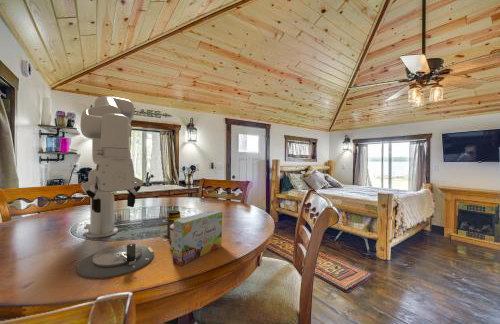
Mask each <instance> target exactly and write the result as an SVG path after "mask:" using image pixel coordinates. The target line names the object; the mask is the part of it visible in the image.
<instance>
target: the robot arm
mask: <svg viewBox="0 0 500 324" xmlns="http://www.w3.org/2000/svg"><path fill="white" fill-rule="evenodd" d="M134 116H135V105H134V104H133V102H132V101H131V100H130V99H127V98H121V97H115V96H109V95H101V96H98V97H97V98H96V99H95V100H94V103H93V106H91V107H88V108H85V109H84V110H83V111H82V113H81V116H80V123H79V124H80V125H79V126H80V127H79V128H80V132H81V134H82V136H84V137H85V138H87V139H90V140H92V141H91V143H92V144H91V146H92V147H91V151H92V154H91V156H92V162H93V163H94V164H95V165H96V166H95V168H94V169H91V170H90V171H89V172H88V175H87V177H88V181H86V182H84V183H82V184H80V188H81V189H82V191H83V192H84V194H85V195H86V196H88V197H89V199H90V210H89V211H90V214H89V215H90V222H89V223H87V224H85V226H84V227H83V229H84V230H87V232H86V233H85V236H86V238H91V239H95V238H96V239H97V238H99V239H100V238H104V237H109V236H113V235H115V234H117V233H118V231H119V230H118V228H117V227H115V195H114V193H113V192H123V191H127V197H126V198H127V203H126V205H127V207H129V208H134V207H135V203H136V195H137V194H138V192H139V191H140V189H141V187H142V185H143V184H144V180H142V179H140V178H138V177H136V176H135V175H136V174H135V168H134V163H133V159H132V155H131V151H130V137H131V135H132V130H133V129H132V125H131V123H132V120H133V118H134Z"/></svg>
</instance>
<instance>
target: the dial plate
mask: <svg viewBox="0 0 500 324" xmlns="http://www.w3.org/2000/svg"><path fill="white" fill-rule="evenodd" d="M136 245H137V246H140V247H141V248H142V255H141V256H140V257H139V258H138V259H137V260H136V263H134V264H132V265H127V264H125V265H121V266H116V267H107V268H103V267H97V266H94V265H93V256H94V255H95V254H96V253H98V252H99V251H97V252H94V253H93V254H90V255H88V256H86V257H85V258H83V259H82V260H81V261H80V262H79V263H78V265H77V267H76V270H77V274H78V275H80V276H81V277H84V278H87V279H106V278H107V279H108V278H113V277H114V278H115V277H119V276H122V275H126V274H130V273H133V272H135V271H138V270H140V269H142V268H143V267H145V266H147V265H148V264H150V262H152V260H153V259H154V255H155V252H154V250H153V249H152V247H150V246H145V245H139V244H136Z"/></svg>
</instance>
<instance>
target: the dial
mask: <svg viewBox="0 0 500 324" xmlns="http://www.w3.org/2000/svg"><path fill="white" fill-rule="evenodd" d="M137 245H138V244H136V243H128V244H122V245H115V246H111V247H108V248H104V249H101V250H100V251H97V252H98V253H97V252H95V253H96V254H95V255H94V256H93V265H94V266H97V267H103V268H107V267H116V266H121V265H125V264H127V265H132V264H134V263H136V260H137V259H138V258H139V257H140V256H141V255H142V248H141V247H140V246H141V245H140V246H137Z"/></svg>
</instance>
